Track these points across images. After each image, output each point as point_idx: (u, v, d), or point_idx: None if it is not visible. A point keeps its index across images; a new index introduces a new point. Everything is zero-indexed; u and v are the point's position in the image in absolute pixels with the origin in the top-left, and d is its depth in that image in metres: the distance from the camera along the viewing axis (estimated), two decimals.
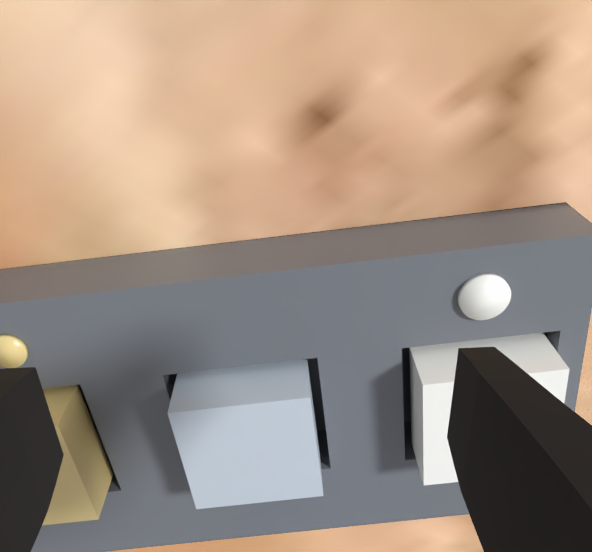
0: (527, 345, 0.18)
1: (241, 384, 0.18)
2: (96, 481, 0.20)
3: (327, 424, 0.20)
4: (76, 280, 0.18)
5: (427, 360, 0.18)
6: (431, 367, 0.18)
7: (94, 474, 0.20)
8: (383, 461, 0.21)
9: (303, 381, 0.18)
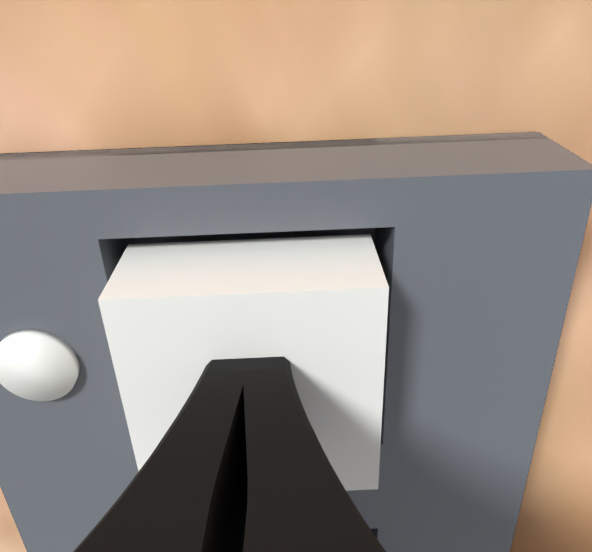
0: None
1: None
2: None
3: None
4: None
5: None
6: None
7: None
8: (380, 468, 0.13)
9: None
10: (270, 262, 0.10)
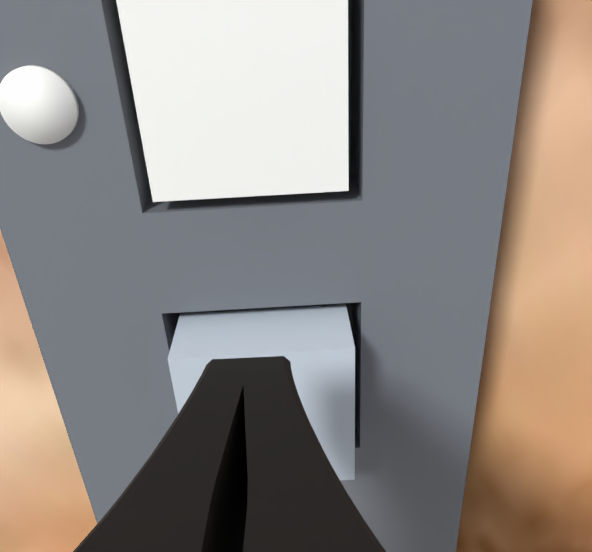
0: None
1: None
2: None
3: (275, 304, 0.15)
4: None
5: None
6: None
7: None
8: (361, 231, 0.14)
9: None
10: None
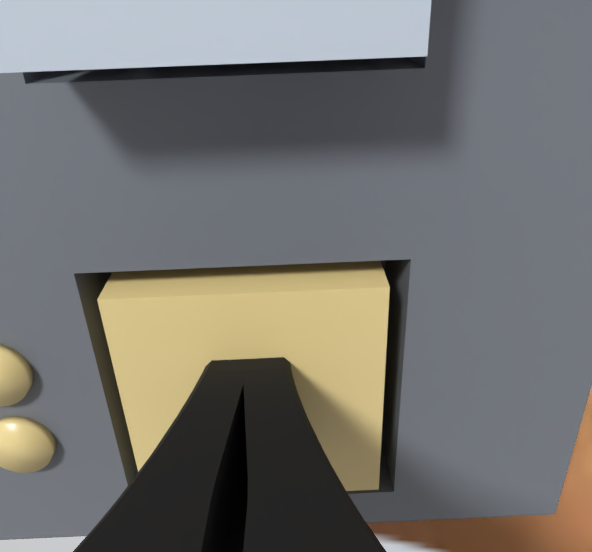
0: None
1: None
2: (318, 266, 0.09)
3: None
4: None
5: None
6: None
7: (300, 265, 0.09)
8: None
9: None
10: None
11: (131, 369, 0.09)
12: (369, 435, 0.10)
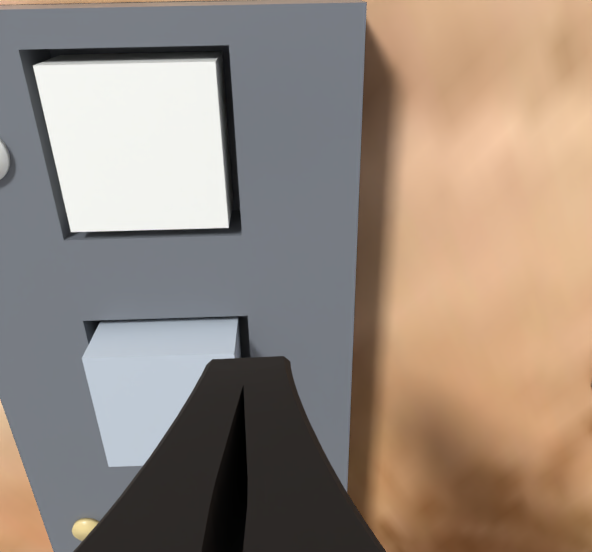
0: None
1: None
2: None
3: (177, 316, 0.18)
4: None
5: None
6: None
7: None
8: (243, 259, 0.17)
9: None
10: (149, 57, 0.15)
11: None
12: None
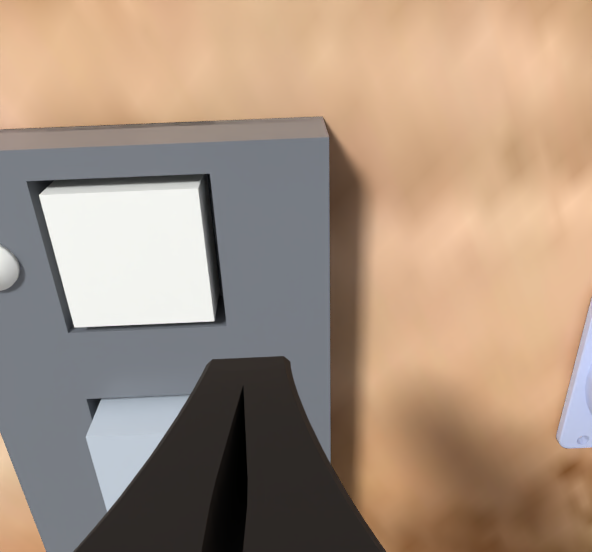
0: None
1: None
2: None
3: (170, 393, 0.20)
4: None
5: None
6: None
7: None
8: (229, 345, 0.19)
9: None
10: (140, 179, 0.17)
11: None
12: None
